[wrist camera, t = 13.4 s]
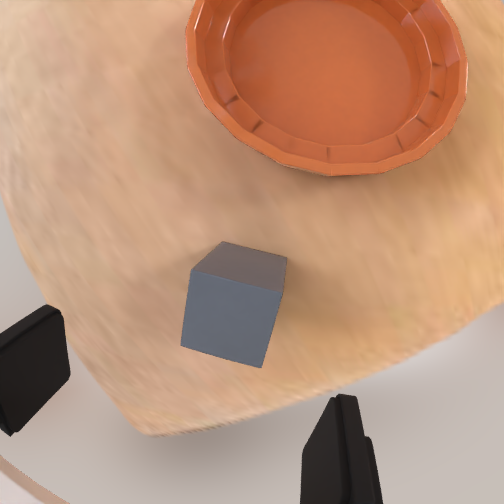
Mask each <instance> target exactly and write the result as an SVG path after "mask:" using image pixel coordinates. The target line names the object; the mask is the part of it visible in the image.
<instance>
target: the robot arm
mask: <svg viewBox="0 0 504 504" xmlns="http://www.w3.org/2000/svg"><path fill="white" fill-rule="evenodd" d="M69 377H70V366H69V359H68V353H67V344H66V336H65V327H64V318H63V316H62V315H61V312H60V310H58V309H56V308H54V307H52V306H50V305H47V304H46V305H44V306H42V307H41V308H39V309H37V310H36V311H34V312H32V313H31V314H29V315H28V316H26V317H25V318H23V319H22V320H20V321H19V322H17V323H16V324H14V325H12V326H11V327H9V328H8V329H7V330H5V331H3V332H2V333H0V429H1V430H2V431H4V432H5V433H6V434H7V435H9V436H10V437H11V435H12V434H13V433H14V432H19V431H20V430H21V429H22V428H23V426H25V424H26V423H27V422H28V421H29V420H30V419H31V418H32V417H33V416H34V415H35V414H36V413H37V412H38V411H39V409H41V408H42V407H43V405H44V404H45V403H46V402H47V401H48V400H49V399H50V398H51V397H52V396H53V395H54V394H55V393H56V392H57V391H58V390H59V389H60V388H61V387H62V386H63V385H64V384H65V383H66V382H67V381H68V379H69ZM301 472H302V473H301V495H300V504H383V500H382V493H381V488H380V482H379V476H378V470H377V465H376V460H375V455H374V449H373V444H372V441H371V439H370V438H369V437H366V436H365V435H364V430H363V425H362V420H361V415H360V410H359V405H358V400H357V397H356V396H351V395H344V394H338V395H337V396H336V398H334V397H331V398H330V400H329V402H328V404H327V406H326V408H325V410H324V412H323V414H322V416H321V417H320V419H319V421H318V423H317V425H316V427H315V429H314V430H313V432H312V434H311V436H310V438H309V439H308V442H307V443H306V445H305V447H304V449H303V453H302V471H301ZM0 504H69V503H67V502H66V501H64V500H63V499H61V498H59V497H58V496H56V495H54V494H53V493H51V492H50V491H48V490H47V489H45V488H44V487H42V486H41V485H39V484H37V483H36V482H35V481H33V480H32V479H30V478H29V477H28V476H26V475H25V474H23V473H22V472H21V471H19V470H18V469H17V468H15V467H14V466H13V465H12V464H10V463H9V462H8V461H6V460H5V459H4V458H3V457H1V456H0Z"/></svg>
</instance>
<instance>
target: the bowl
mask: <svg viewBox="0 0 504 504" xmlns="http://www.w3.org/2000/svg"><path fill="white" fill-rule="evenodd" d="M185 35H186V54H187V67H188V71H189V73H190V75H191V77H192V79H193V81H194V84H195V86H196V88H197V90H198V92H199V95H200V97H201V99H202V101H203V103H204V105H205V106H206V107H207V108H208V109H209V110H210V111H211V113H212V114H213V115H214V116H215V117H216V118H217V119H218V120H219V121H220V122H221V123H222V124H223V125H224V126H225V127H226V128H227V129H228V130H229V131H230V132H231V133H232V134H233V135H234V137H235V138H237V139H238V140H240V141H241V142H243V143H244V144H246V145H247V146H249V147H251V148H253V149H254V150H256V151H258V152H260V153H262V154H263V155H265V156H267V157H269V158H270V159H272V160H274V161H275V162H277V163H279V164H281V165H282V166H285V167H289V168H293V169H297V170H301V171H305V172H310V173H314V174H317V175H321V176H340V175H364V174H381V173H384V172H386V171H389V170H392V169H394V168H397V167H400V166H402V165H405V164H408V163H410V162H413V161H416V160H418V159H420V158H422V157H423V156H424V155H425V154H427V153H428V152H429V151H430V150H431V149H432V148H433V147H434V146H435V145H437V144H438V143H439V142H440V141H441V140H442V139H443V138H444V137H445V136H447V135H448V134H449V133H450V131H451V130H452V128H453V126H454V124H455V121H456V119H457V117H458V115H459V113H460V111H461V109H462V106H463V104H464V102H465V100H466V90H467V70H468V61H467V57H466V54H465V50H464V47H463V43H462V40H461V37H460V34H459V31H458V28H457V26H456V24H455V22H454V21H453V19H452V17H451V16H450V14H449V13H448V11H447V10H446V8H445V7H444V5H443V4H442V2H441V1H440V0H196V1H195V4H194V7H193V9H192V12H191V15H190V18H189V21H188V24H187V27H186V31H185Z"/></svg>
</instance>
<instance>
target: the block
mask: <svg viewBox="0 0 504 504" xmlns="http://www.w3.org/2000/svg"><path fill="white" fill-rule="evenodd" d="M286 264H287V257H283V256H279V255H275V254H271V253H267V252H263V251H259V250H255V249H251V248H247V247H242V246H238V245H234V244H230V243H226V242H221V243H220V244H219V245H218V246H217V247H216V248H215V249H214V250H212V251H211V252H210V253H209V254H208V255H207V256H206V257H205V258H204V259H202V260H201V261H200V262H199V263H198V264H197V265H196V266H195V267H194V268H192V269H191V274H190V280H189V287H188V294H187V300H186V307H185V315H184V322H183V330H182V337H181V346H183V347H186V348H189V349H193V350H196V351H199V352H203V353H206V354H209V355H213V356H216V357H220V358H223V359H227V360H231V361H234V362H238V363H242V364H246V365H250V366H253V367H258V368H262V365H263V361H264V358H265V354H266V351H267V348H268V344H269V341H270V337H271V334H272V330H273V327H274V323H275V320H276V316H277V313H278V309H279V306H280V302H281V298H282V295H283V288H284V280H285V272H286Z"/></svg>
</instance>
